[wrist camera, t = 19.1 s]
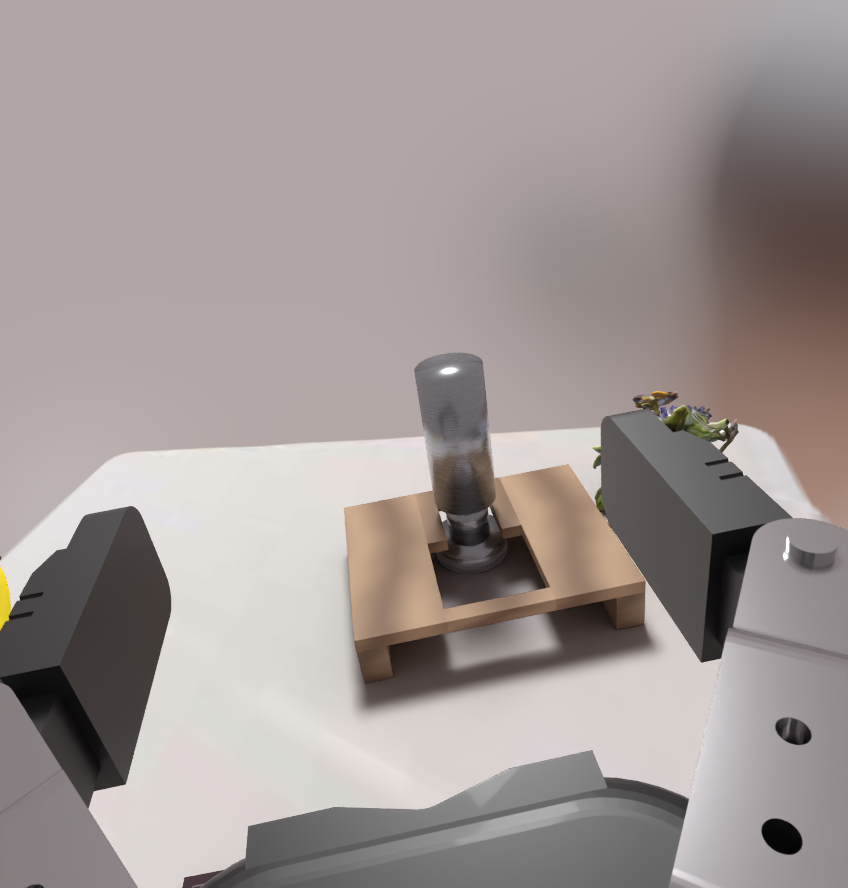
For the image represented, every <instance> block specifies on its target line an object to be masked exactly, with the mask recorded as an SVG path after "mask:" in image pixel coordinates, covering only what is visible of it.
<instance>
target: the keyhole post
mask: <svg viewBox="0 0 848 888" xmlns="http://www.w3.org/2000/svg"><path fill="white" fill-rule="evenodd" d="M415 378H416V384H417V391H418V397H419V403H420V410H421V417H422V423H423V429H424V436H425V443H426V449H427V456H428V462H429V469H430V475H431V482H432V488H433V494H434V501H435V505H436V506H437V507H438V508H439V509H440V510H441V511H443V512H445V513H446V515H447V520H445V521H444V522H443V523H442V525H443V528H444V531H445V535H446V538H447V543H448V550H446V551H441V552H436V553H437V558H438V561H439V562H440V564H441V565H442V566H443V567H445V568H446V569H448V570H450V571H453V572H456V573H461V574H476V573H481V572H485V571H488V570H490V569H492V568H494V567H496V566H497V565H499V564H500V563H501V562H502V561H503V560H504V558H505V556H506V554H507V539H503V538H502V535H501V533H500V530H499V528H498V526H497V523H496V521H495V518H494V516H491V515H489V514H488V507H489V506H490V505H492V503H493V502H494V501H495V498H496V490H495V480H494V470H493V460H492V450H491V440H490V430H489V421H488V411H487V401H486V391H485V381H484V371H483V362H482V360H481V359H480V358H479V357H478V356H475V355H472V354H467V353H448V354H441V355H437V356H433V357H430V358H428V359H426V360H424V361H422V362H420V363H419V364H418V365H417V366H416V368H415Z"/></svg>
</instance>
